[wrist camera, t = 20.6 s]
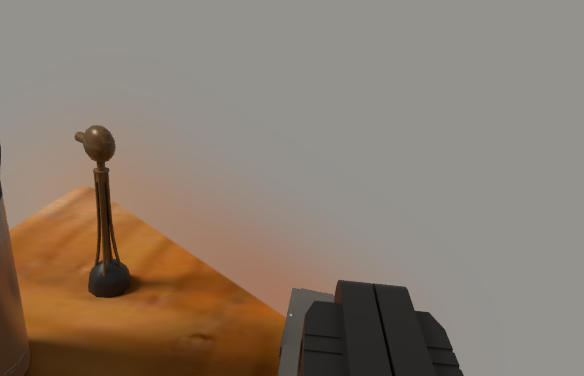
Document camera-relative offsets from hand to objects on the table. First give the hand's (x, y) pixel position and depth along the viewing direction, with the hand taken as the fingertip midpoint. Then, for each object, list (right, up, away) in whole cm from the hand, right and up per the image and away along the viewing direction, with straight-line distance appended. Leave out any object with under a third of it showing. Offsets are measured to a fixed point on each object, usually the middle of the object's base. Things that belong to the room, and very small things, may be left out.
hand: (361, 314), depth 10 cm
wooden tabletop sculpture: (-24, -9, +44) cm, 51 cm away
